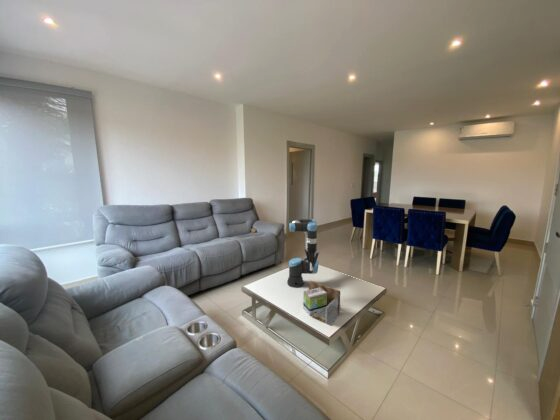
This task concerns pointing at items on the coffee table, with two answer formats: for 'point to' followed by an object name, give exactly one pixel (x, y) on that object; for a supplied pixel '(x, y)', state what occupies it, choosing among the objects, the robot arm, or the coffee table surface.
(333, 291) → the shelf wall
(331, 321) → the bookend
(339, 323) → the coffee table surface
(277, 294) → the coffee table surface
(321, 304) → the tea box
